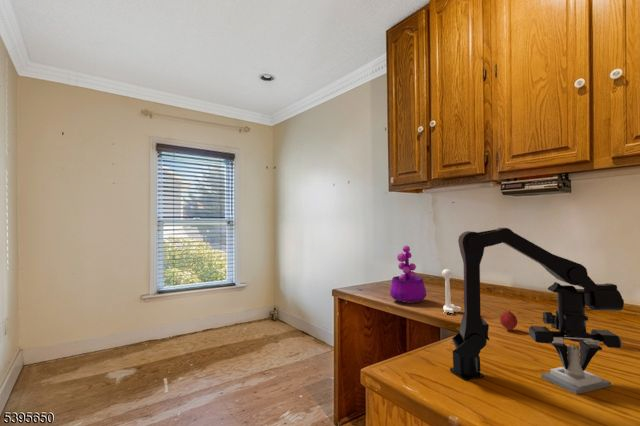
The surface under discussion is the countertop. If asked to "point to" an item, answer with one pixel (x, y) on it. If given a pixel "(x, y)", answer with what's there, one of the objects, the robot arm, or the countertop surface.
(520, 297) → the countertop surface
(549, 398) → the countertop surface
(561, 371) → the collar plate
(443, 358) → the countertop surface
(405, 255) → the decorative plant
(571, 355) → the rook chess piece
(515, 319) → the onion
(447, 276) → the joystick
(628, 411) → the countertop surface
